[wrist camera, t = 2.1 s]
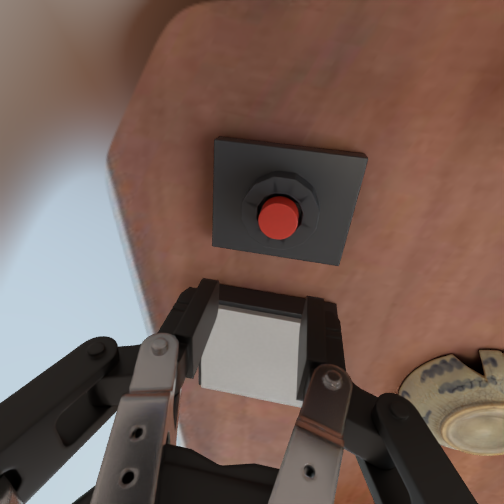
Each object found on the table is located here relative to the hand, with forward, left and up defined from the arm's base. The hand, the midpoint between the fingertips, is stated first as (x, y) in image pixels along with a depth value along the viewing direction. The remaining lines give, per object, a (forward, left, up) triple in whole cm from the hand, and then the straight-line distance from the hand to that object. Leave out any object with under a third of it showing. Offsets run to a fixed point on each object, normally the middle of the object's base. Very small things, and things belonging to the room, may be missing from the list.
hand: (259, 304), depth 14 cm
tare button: (0, 0, -11) cm, 11 cm away
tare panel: (0, 0, -13) cm, 13 cm away
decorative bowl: (+23, -19, -13) cm, 33 cm away
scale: (0, -16, -13) cm, 21 cm away
